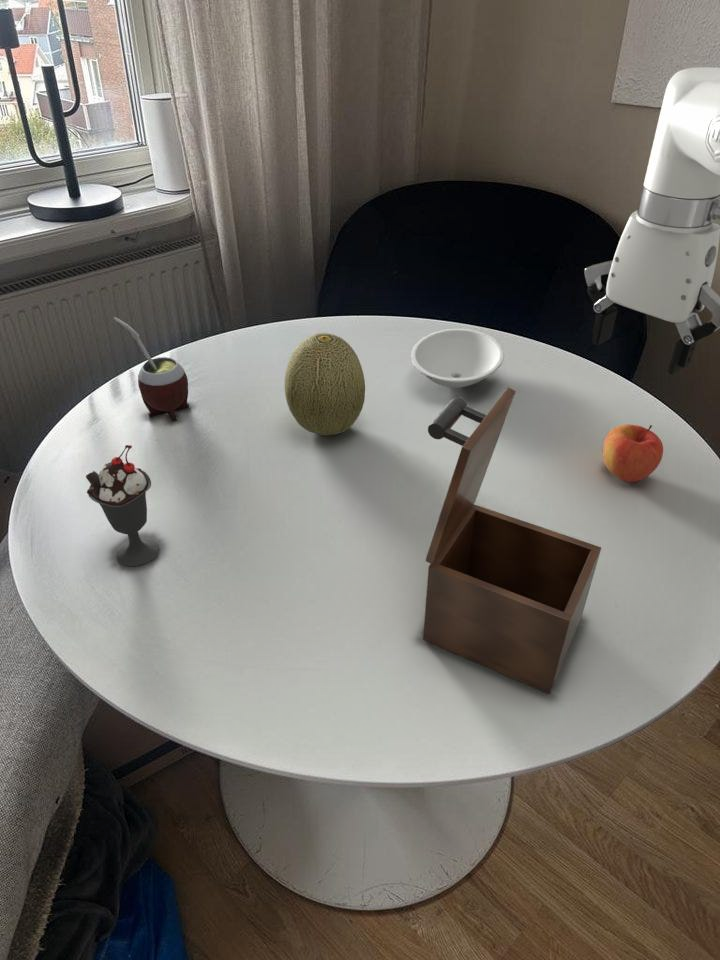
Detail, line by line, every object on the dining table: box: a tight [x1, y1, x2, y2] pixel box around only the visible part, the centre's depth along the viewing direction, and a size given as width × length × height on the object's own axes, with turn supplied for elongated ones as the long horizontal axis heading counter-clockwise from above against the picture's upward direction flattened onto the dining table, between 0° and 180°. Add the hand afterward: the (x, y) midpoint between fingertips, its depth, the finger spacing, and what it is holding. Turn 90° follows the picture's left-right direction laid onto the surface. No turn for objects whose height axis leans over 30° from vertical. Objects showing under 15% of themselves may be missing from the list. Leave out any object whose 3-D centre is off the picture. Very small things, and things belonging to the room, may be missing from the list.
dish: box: [411, 328, 505, 388], centre depth 113 cm, size 18×14×5 cm
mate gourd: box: [113, 316, 190, 423], centre depth 103 cm, size 8×8×15 cm
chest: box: [422, 503, 602, 695], centre depth 71 cm, size 14×11×11 cm
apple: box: [602, 424, 664, 483], centre depth 92 cm, size 7×7×8 cm
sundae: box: [85, 444, 160, 567], centre depth 79 cm, size 7×7×15 cm
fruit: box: [284, 332, 366, 436], centre depth 99 cm, size 11×11×15 cm
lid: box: [425, 387, 516, 565], centre depth 66 cm, size 14×11×5 cm
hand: (637, 355), depth 83 cm, fingers open, 9 cm apart
